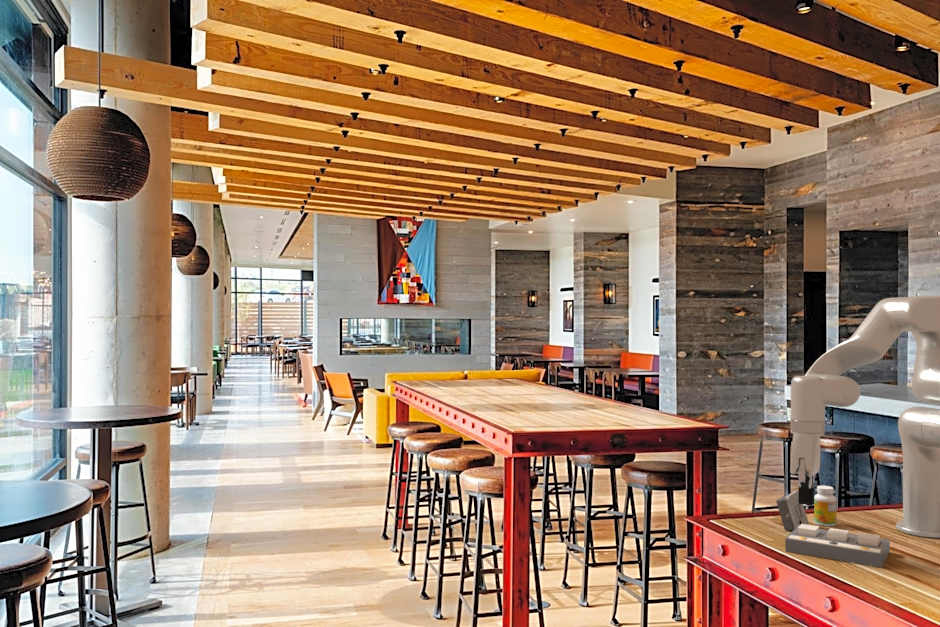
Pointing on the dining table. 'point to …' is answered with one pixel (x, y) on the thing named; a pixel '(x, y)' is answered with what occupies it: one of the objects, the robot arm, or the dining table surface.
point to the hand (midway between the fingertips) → (806, 503)
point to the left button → (808, 530)
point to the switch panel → (838, 548)
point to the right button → (869, 539)
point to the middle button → (838, 535)
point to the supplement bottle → (825, 506)
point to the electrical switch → (792, 511)
